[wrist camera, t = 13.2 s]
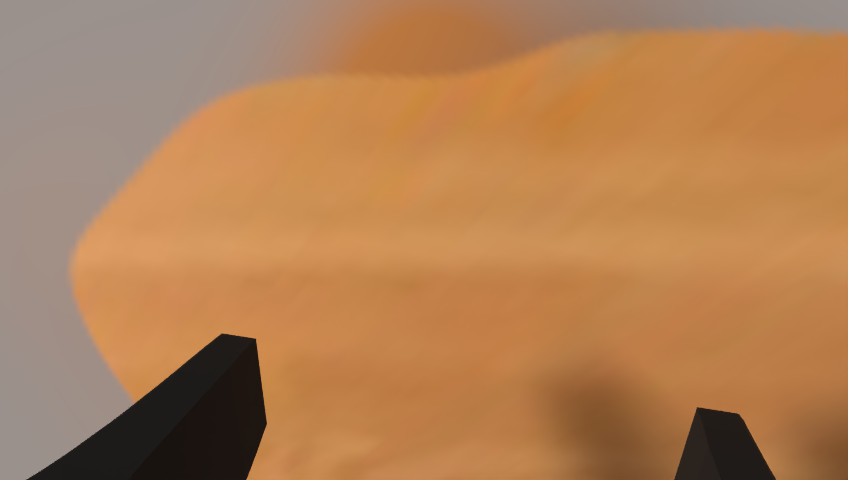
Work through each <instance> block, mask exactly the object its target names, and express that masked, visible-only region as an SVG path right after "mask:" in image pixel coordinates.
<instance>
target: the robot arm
mask: <svg viewBox="0 0 848 480" xmlns="http://www.w3.org/2000/svg"><path fill="white" fill-rule="evenodd" d="M266 425H267V422H266V414H265V406H264V398H263V391H262V383H261V375H260V367H259V360H258V352H257V344H256V339H254V338H248V337H241V336H235V335H228V334H221V335H219V336H218V337H217V338H216V339H214V340H213V341H212V342H211V343H209V344H208V345H207V346H205V347H204V348H203V349H202V350H201V351H199V352H198V353H197V354H196V355H194V356H193V357H192V358H191V359H190V360H188V361H187V362H186V363H185V364H184V365H182V366H181V367H180V368H179V369H177V370H176V371H175V372H174V373H173V374H171V375H170V376H169V377H168V378H166V379H165V380H164V381H163V382H161V383H160V384H159V385H158V386H157V387H155V388H154V389H153V390H152V391H150V392H149V393H148V394H146V395H145V396H144V397H143V398H141V399H140V400H139V401H137V402H136V403H135V404H134V405H132V406H131V407H130V408H129V409H127V410H126V411H125V412H123V413H122V414H121V415H120V416H118V417H117V418H116V419H114V420H113V421H112V422H110V423H109V424H108V425H106V426H105V427H103V428H102V429H101V430H99V431H98V432H96V433H95V434H94V435H92V436H91V437H90V438H88V439H87V440H85V441H84V442H82V443H81V444H80V445H78V446H77V447H76V448H74V449H73V450H71V451H70V452H68V453H67V454H66V455H64V456H63V457H61V458H60V459H58V460H57V461H55V462H54V463H52V464H51V465H49V466H48V467H46V468H45V469H43V470H41V471H40V472H38V473H37V474H35V475H33V476H32V477H30V478H29V479H27V480H246V479H247V477H248V474H249V471H250V469H251V466H252V464H253V461H254V458H255V456H256V453H257V450H258V447H259V445H260V442H261V439H262V436H263V433H264V430H265V428H266ZM674 480H776V479H775V477H774V475H773V474H772V472H771V470H770V468H769V467H768V465H767V463H766V461H765V459H764V458H763V456H762V454H761V452H760V450H759V448H758V447H757V445H756V443H755V441H754V439H753V437H752V435H751V434H750V432H749V430H748V428H747V426H746V424H745V422H744V420H743V419H742V418H741V417H740V415H739V414H737V413H730V412H724V411H717V410H711V409H705V408H698V407H697V409H696V413H695V416H694V419H693V422H692V425H691V428H690V432H689V435H688V438H687V441H686V444H685V448H684V451H683V454H682V457H681V460H680V463H679V467H678V470H677V473H676V476H675V479H674Z"/></svg>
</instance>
